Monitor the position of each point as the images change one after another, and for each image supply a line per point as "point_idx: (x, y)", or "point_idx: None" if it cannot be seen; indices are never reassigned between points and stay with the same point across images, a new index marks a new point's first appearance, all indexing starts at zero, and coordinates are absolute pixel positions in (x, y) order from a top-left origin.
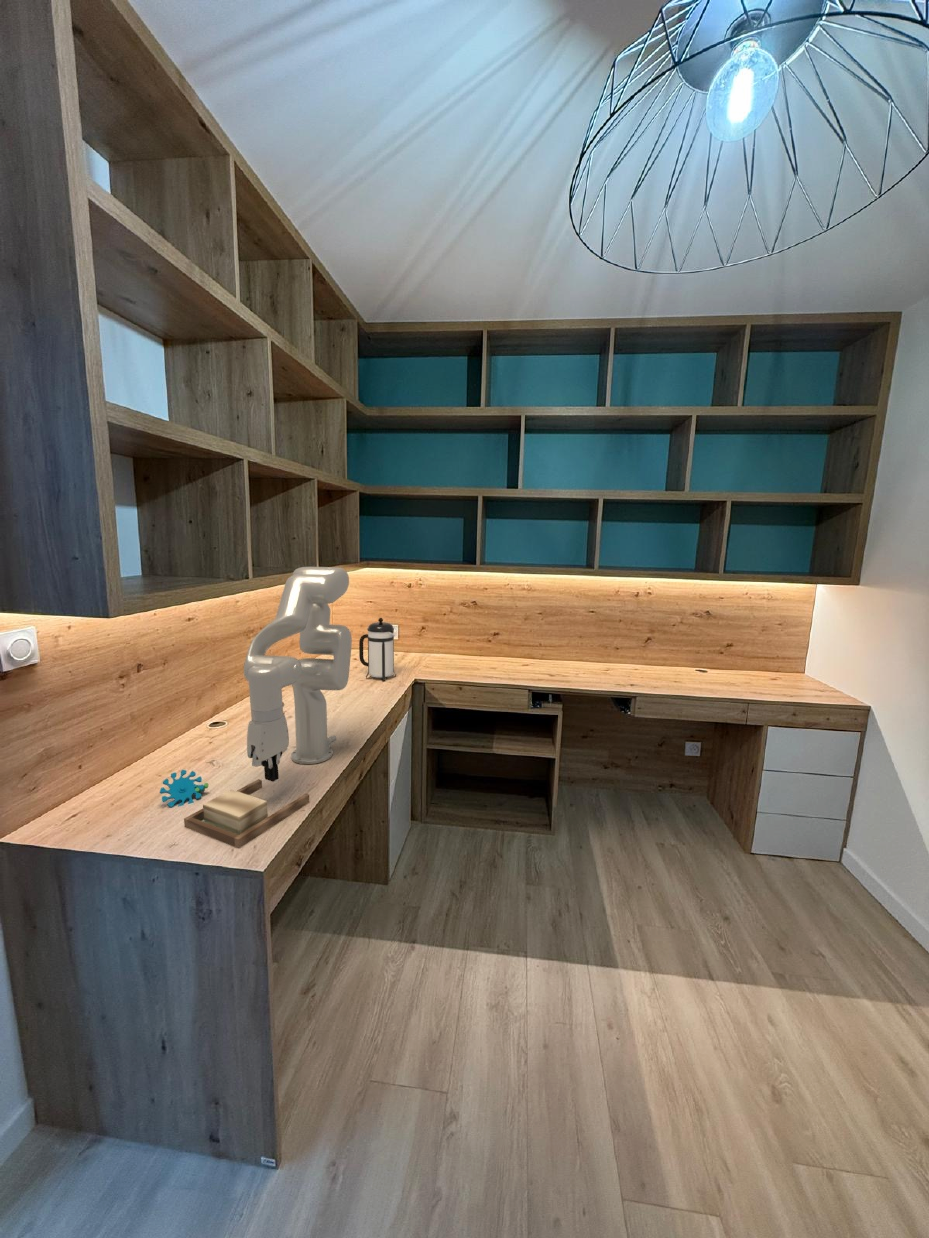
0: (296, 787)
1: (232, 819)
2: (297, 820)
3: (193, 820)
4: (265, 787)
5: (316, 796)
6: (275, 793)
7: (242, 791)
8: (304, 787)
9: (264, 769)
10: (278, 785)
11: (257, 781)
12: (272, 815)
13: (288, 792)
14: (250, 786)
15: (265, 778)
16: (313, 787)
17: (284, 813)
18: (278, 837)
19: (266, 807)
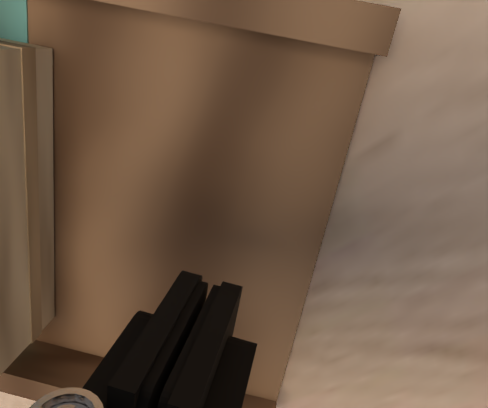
0: (458, 264)
1: None
2: None
3: None
4: (423, 46)
5: (368, 404)
6: (349, 176)
7: (166, 13)
8: (465, 309)
9: (91, 377)
10: (472, 128)
11: (350, 33)
12: (16, 383)
13: (380, 249)
14: (253, 29)
15: (180, 275)
16: (473, 356)
17: None
18: None
19: (1, 368)
